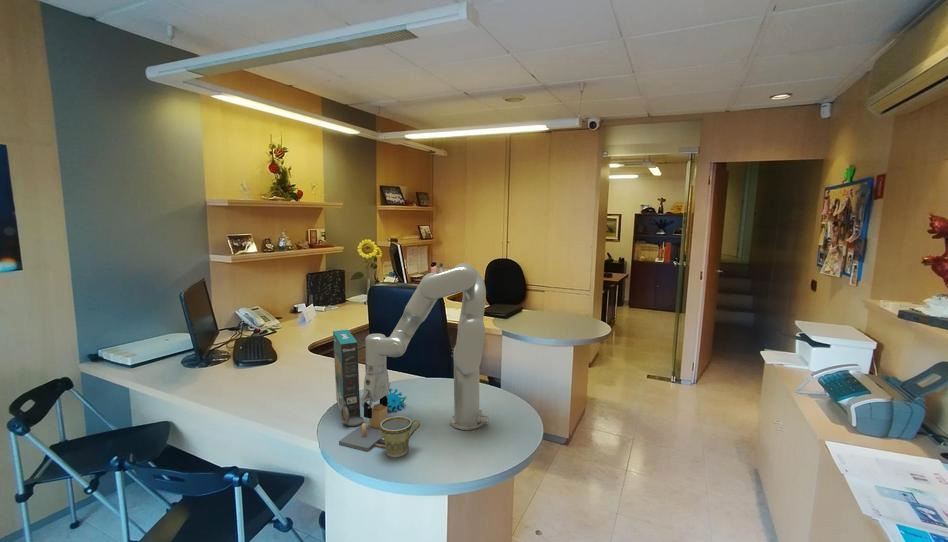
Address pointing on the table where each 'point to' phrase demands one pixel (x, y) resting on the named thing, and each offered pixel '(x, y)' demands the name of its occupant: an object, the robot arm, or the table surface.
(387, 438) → the ceramic cup
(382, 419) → the cube with round knob
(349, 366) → the cake mix box
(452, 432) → the table surface
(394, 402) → the gear
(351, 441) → the junction plate
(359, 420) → the pocket watch
